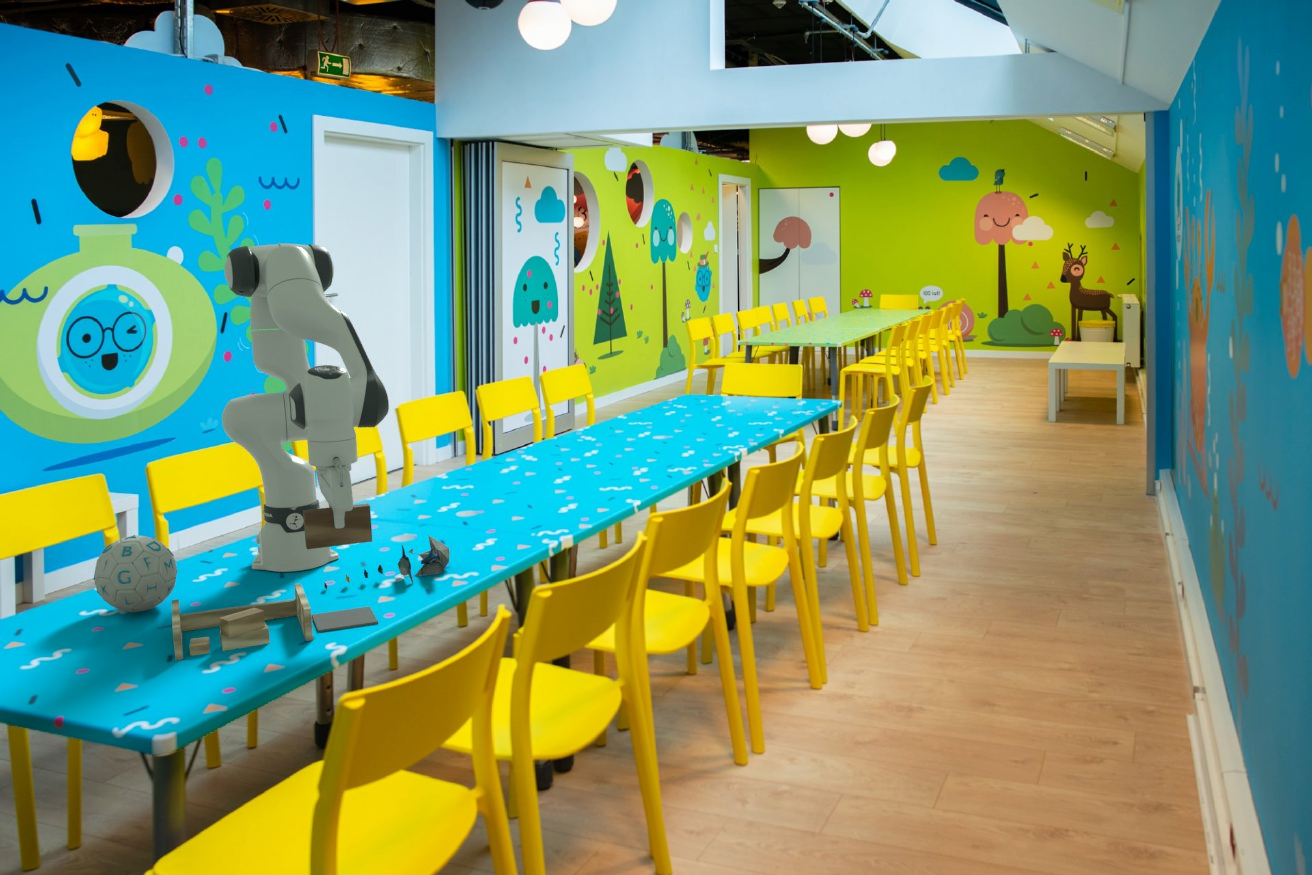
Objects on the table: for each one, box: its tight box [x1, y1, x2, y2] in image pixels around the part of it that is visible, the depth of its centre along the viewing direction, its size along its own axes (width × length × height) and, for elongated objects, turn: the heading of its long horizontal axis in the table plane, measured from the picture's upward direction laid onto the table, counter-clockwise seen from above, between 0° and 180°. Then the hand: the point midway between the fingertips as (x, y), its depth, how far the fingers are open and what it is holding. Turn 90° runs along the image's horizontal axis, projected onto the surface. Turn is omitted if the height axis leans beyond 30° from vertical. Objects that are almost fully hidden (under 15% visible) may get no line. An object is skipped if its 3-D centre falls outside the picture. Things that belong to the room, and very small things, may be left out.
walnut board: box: [303, 503, 373, 549], centre depth 217 cm, size 2×12×7 cm, turn 113°
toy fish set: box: [323, 544, 444, 591], centre depth 241 cm, size 11×25×9 cm, turn 122°
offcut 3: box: [219, 623, 271, 652], centre depth 207 cm, size 3×8×3 cm, turn 118°
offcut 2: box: [219, 608, 266, 637], centre depth 207 cm, size 3×7×3 cm, turn 140°
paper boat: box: [408, 534, 450, 577], centre depth 252 cm, size 12×6×9 cm
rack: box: [171, 583, 314, 661], centre depth 212 cm, size 17×23×6 cm
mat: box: [311, 606, 379, 633], centre depth 220 cm, size 10×11×1 cm
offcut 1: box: [189, 636, 211, 656], centre depth 205 cm, size 4×3×2 cm
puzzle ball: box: [93, 534, 178, 613], centre depth 227 cm, size 15×15×15 cm
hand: (338, 525), depth 217 cm, fingers closed on walnut board, 2 cm apart
